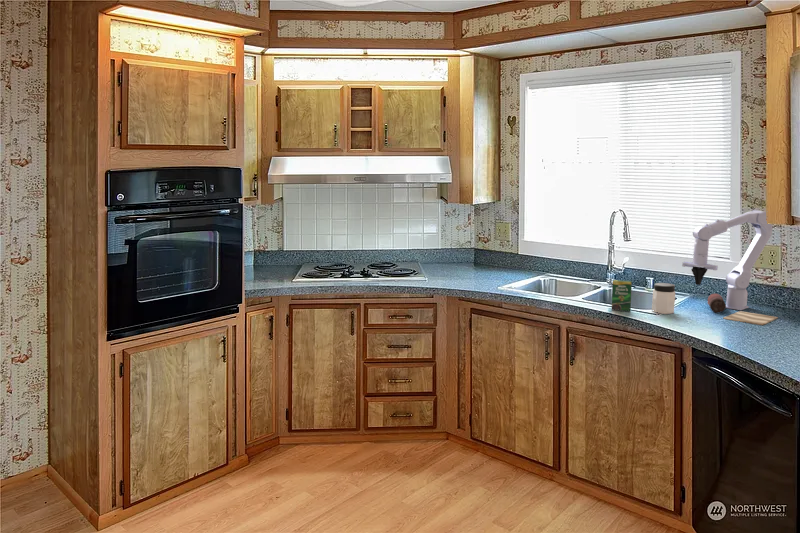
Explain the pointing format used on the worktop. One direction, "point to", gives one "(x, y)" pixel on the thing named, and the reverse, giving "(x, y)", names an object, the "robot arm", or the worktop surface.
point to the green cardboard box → (621, 295)
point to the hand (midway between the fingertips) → (698, 284)
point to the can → (716, 303)
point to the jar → (663, 298)
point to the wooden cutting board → (750, 318)
